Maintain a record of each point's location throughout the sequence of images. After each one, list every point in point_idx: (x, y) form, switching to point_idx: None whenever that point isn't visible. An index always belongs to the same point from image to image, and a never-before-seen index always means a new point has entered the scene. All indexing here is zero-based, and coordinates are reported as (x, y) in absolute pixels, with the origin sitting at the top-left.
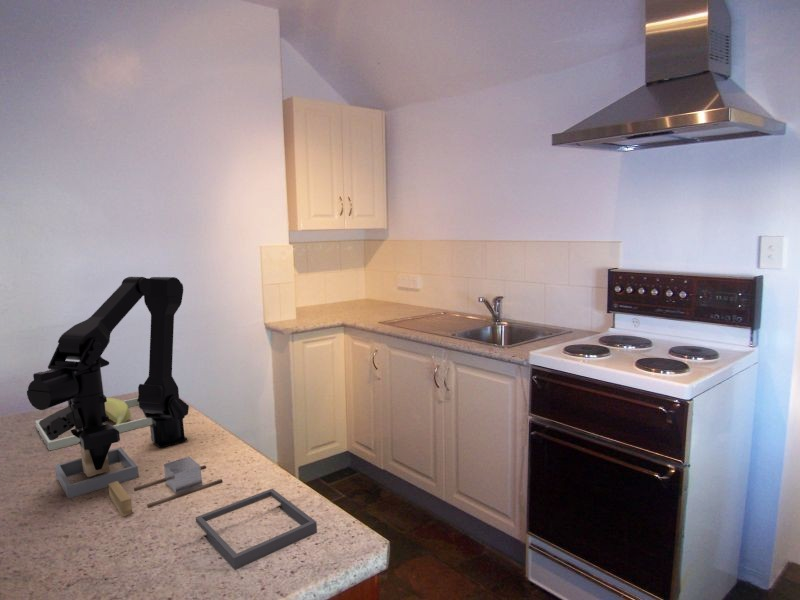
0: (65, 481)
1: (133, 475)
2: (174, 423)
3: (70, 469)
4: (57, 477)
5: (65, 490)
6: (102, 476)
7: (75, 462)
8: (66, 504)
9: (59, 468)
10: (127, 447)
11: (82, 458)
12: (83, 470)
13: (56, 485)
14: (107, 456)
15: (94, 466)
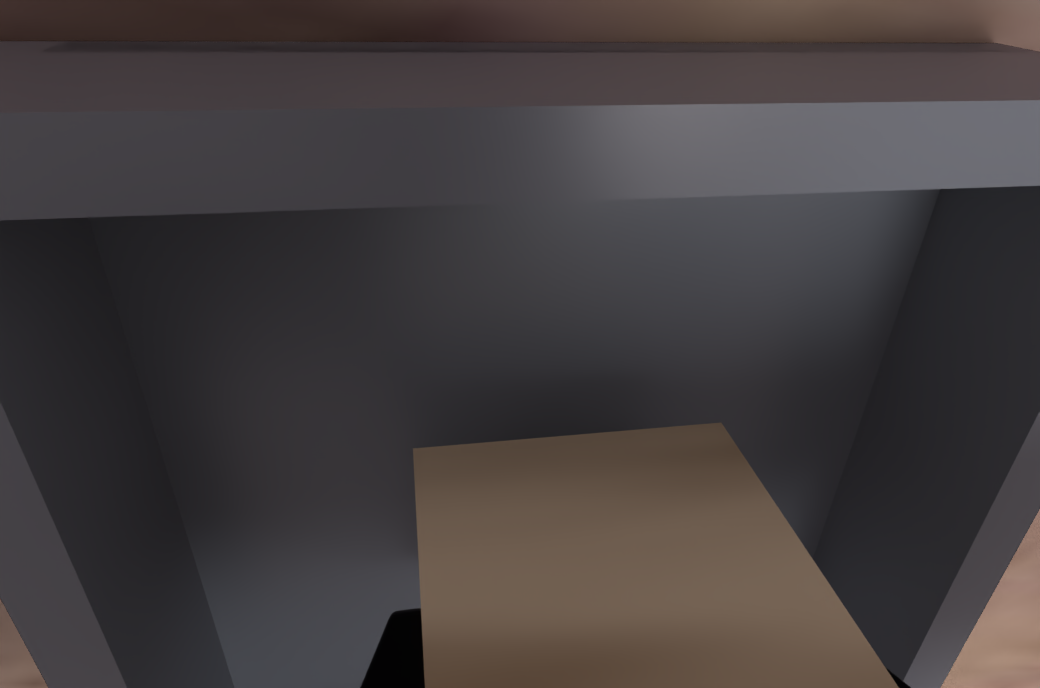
0: (179, 146)
1: None
2: None
3: (980, 276)
4: (952, 61)
5: (141, 72)
6: (45, 668)
7: (1020, 394)
8: (15, 4)
9: (1023, 151)
10: (1035, 666)
11: (758, 619)
12: (703, 429)
13: (867, 10)
14: None
15: (392, 665)
